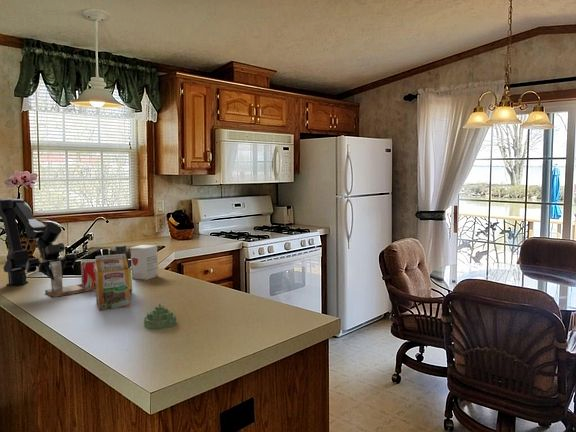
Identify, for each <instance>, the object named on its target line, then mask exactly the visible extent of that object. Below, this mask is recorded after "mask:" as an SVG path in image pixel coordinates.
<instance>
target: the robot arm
mask: <svg viewBox="0 0 576 432" xmlns="http://www.w3.org/2000/svg"><path fill="white" fill-rule="evenodd" d="M16 215H17V216H18V217H17V218H19V220H20V221H21V223H22V224H23V225H24V227H25V230H24V231H25V234H26V236H27V238H28V239H29V240H36V243H35V245H34V248H37V249H38V252H39V257H40V259H39V258H38V257H36V258H30V256H29V251H28V250H27V249H24V248H23V247H22V242H21V238H20V233H19V229H18V225H17V220H16ZM0 217H1V219H2V222H3V226H4V227H3V228H4V232H5V236H6V240H7V246H8V253H7V255H6V262H5V264H4V265H3V271H4V273H7V275H8V276H7V277H8V283H6V284H5V285H6V286H15V287H16V286H21V285H22V286H23V285H24V284H25V285H26V284H28V283H29V281H27V273H35V272H36V271H37V268H38V273H42V274H44V275H45V276H46V277H48V278H49V279H50V280H51V279H52V280H54V277H53V274H52V272H51V270H50V262H53V261H59V262H61V269H62V279H63V278H64V277H63V276H64V270H65V268H69V267H74V266H75V263H76V261H77V259H78V258H77V255H76V254H75V253H67V254H65V255H64V257H63V258H61V257H60V256H61V254H60V253H62V252H64V251H65V249H66V246H65V244H64V242H60V243H59V242H58V243H56V244H53V243H54V242H56V240H57V239H58V238H59V237H60V234H61V233H62V232H63V231H62V228H61V226H59V225H58V224H55V223H53V221H50V222H49V221H48V222H47V223H46V225H45V224H44V223H43V222H42V221H39V220H37V219H36V218H35V216H34V215H33V213H32V212H31V211H30V210H29V208H28V207H27V206H26V204H25V201H24V199H23V198H22V199H21V198H15V199H14V197H7V198H5V197H4V198H0ZM26 272H27V273H26Z"/></svg>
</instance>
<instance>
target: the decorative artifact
mask: <svg viewBox="0 0 576 432" xmlns="http://www.w3.org/2000/svg"><path fill="white" fill-rule="evenodd" d="M143 321H144V322H143V324H144V328H145V329H147V330H155V331H157V330H165V329H169V328H172V327H175V326H176V325H177V314H176V313H173V312H172V311H171V310H170V309H169V307H164V305H161V303H159V304H158V305H157V306H155V307H154V310H151V311H150V312H146V316H144V318H143Z"/></svg>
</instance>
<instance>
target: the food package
mask: <svg viewBox="0 0 576 432" xmlns="http://www.w3.org/2000/svg"><path fill="white" fill-rule="evenodd" d="M126 255H127V254H126ZM126 255H125V254H117V253H116V254H107V255H97V256H95V259H94V260H95V285H96V290H95V299H96V302H95V303H96V306H97V308H98V310H99V312H102V311H107V310H108V311H109V310H116V309H123V308H129V307H131V293H129V271H128V264H127V260H126Z"/></svg>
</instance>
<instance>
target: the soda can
mask: <svg viewBox="0 0 576 432" xmlns="http://www.w3.org/2000/svg"><path fill="white" fill-rule="evenodd" d="M80 278H81V284H82V288H89V287H94V286H96V285H95V259H84V260H82V263H81V265H80Z"/></svg>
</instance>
